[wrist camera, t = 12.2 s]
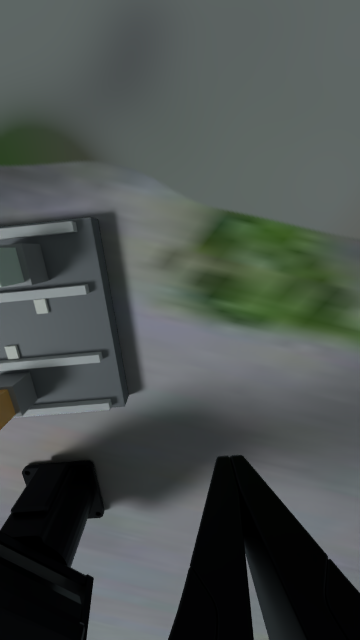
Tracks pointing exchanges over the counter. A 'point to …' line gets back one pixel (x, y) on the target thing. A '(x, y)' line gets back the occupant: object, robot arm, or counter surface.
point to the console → (63, 322)
